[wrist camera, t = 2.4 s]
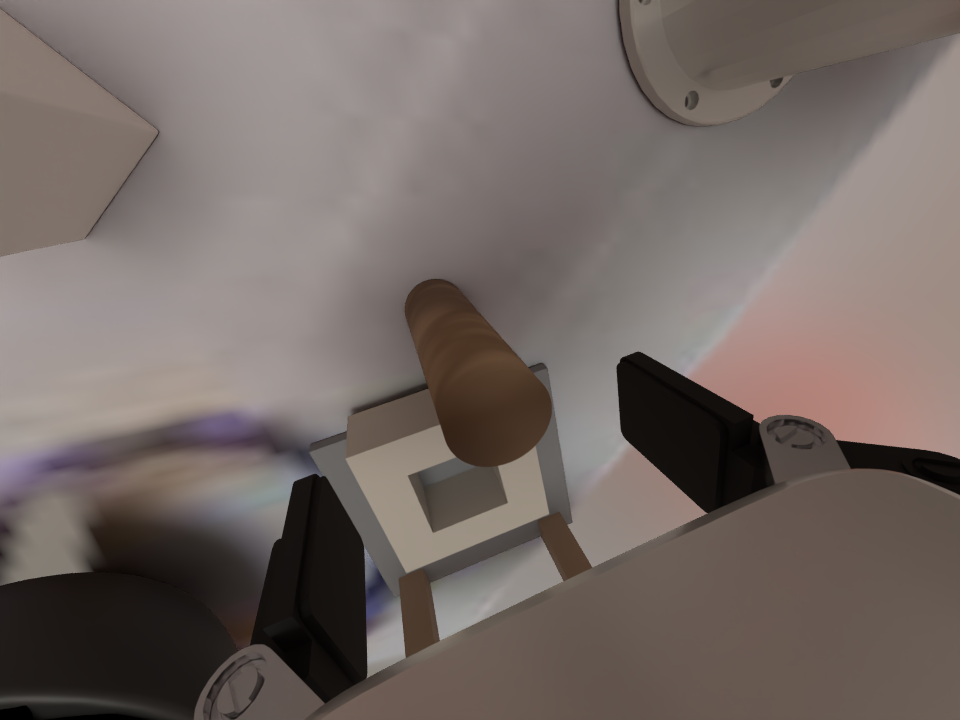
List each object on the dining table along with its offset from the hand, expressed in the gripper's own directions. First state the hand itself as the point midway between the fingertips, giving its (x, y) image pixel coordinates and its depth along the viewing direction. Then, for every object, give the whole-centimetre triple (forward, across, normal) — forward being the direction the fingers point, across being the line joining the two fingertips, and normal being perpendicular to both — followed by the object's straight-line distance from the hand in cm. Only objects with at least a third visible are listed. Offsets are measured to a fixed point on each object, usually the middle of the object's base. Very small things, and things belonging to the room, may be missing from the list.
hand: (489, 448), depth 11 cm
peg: (+13, -1, -1) cm, 13 cm away
